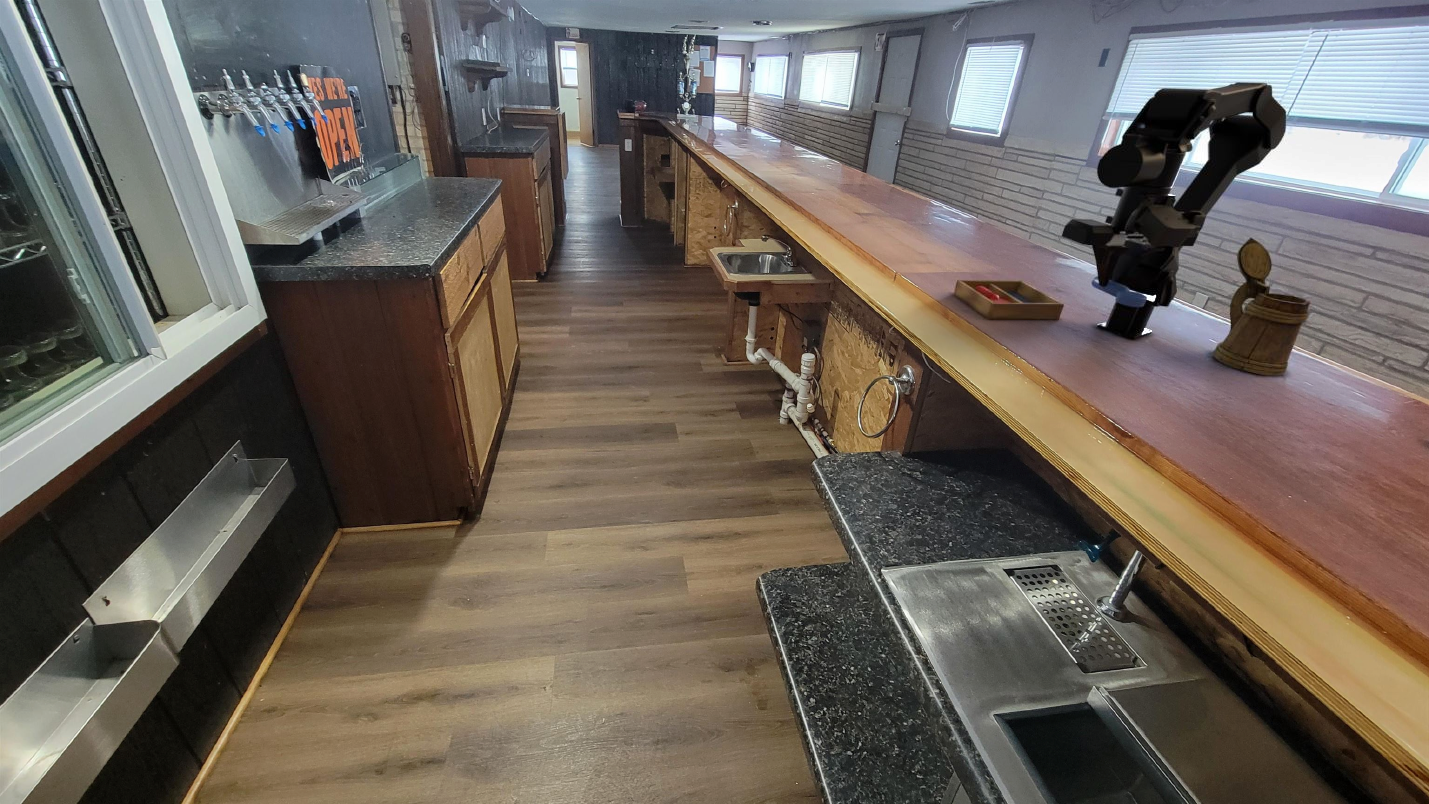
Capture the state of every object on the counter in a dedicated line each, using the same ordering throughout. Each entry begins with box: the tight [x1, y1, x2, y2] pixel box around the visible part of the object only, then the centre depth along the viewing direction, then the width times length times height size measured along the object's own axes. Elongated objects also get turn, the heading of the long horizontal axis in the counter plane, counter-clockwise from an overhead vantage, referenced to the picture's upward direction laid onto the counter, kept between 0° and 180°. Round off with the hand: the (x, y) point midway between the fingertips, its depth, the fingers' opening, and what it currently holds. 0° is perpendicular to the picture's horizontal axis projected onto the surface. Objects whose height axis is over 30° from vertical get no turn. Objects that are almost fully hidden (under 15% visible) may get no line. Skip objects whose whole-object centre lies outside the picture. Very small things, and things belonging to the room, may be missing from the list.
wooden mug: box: [1212, 237, 1311, 376], centre depth 88 cm, size 9×14×18 cm, turn 10°
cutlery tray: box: [953, 279, 1065, 320], centre depth 110 cm, size 14×14×3 cm
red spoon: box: [975, 286, 1010, 303], centre depth 109 cm, size 10×4×2 cm, turn 6°
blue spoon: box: [1091, 275, 1147, 307], centre depth 90 cm, size 10×4×2 cm, turn 7°
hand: (1108, 286), depth 91 cm, fingers closed on blue spoon, 2 cm apart
